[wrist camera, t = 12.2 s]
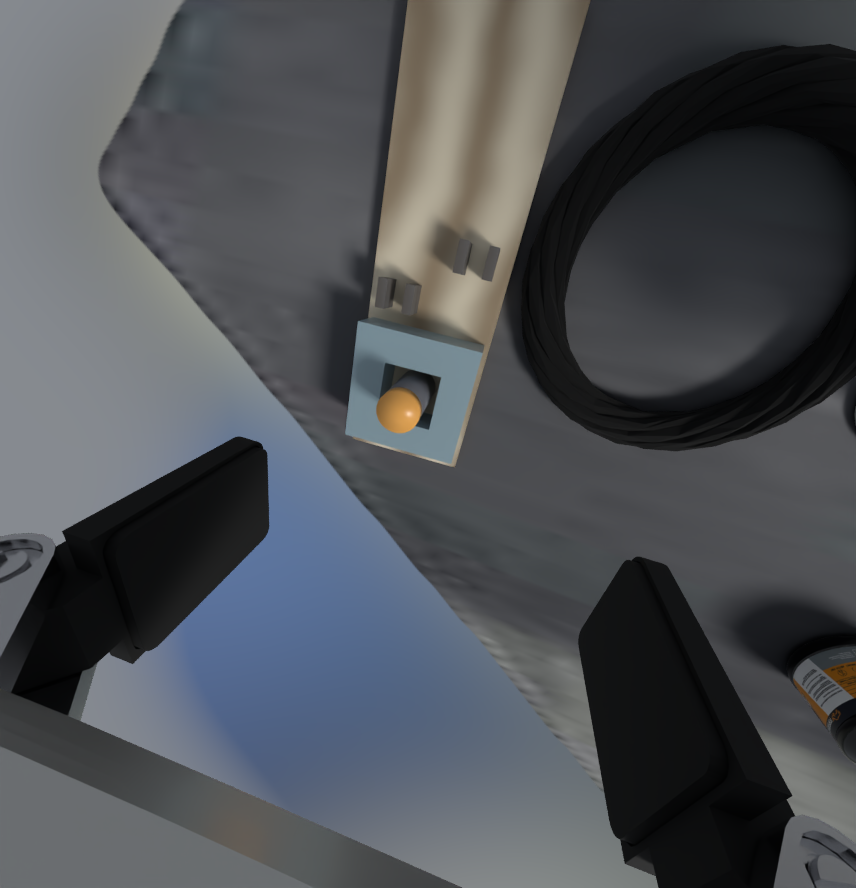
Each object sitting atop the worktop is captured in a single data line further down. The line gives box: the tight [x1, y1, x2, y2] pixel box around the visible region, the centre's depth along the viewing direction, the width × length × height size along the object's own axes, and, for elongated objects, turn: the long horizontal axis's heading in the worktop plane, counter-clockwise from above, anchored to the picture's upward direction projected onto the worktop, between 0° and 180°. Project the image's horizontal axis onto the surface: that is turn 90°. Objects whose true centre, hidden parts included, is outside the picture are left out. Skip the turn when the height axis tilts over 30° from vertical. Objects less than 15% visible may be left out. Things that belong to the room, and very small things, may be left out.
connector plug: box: [376, 370, 435, 433], centre depth 31 cm, size 4×4×8 cm
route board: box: [353, 0, 591, 467], centre depth 30 cm, size 12×36×4 cm, turn 168°
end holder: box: [345, 317, 485, 464], centre depth 33 cm, size 11×11×4 cm
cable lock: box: [521, 44, 856, 451], centre depth 27 cm, size 28×4×30 cm
